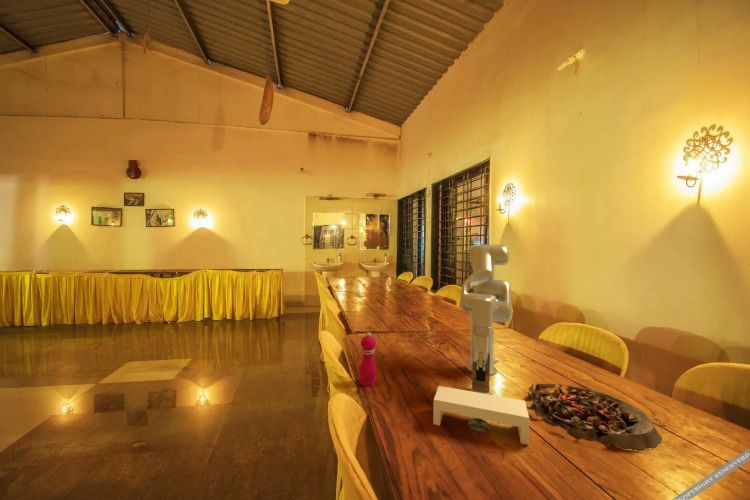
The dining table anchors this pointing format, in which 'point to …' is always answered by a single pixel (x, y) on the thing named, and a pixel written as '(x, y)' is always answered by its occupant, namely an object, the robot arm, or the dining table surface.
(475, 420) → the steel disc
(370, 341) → the pepper mill
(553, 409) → the food dish
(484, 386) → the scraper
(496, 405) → the cream footstool
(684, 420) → the dining table surface
